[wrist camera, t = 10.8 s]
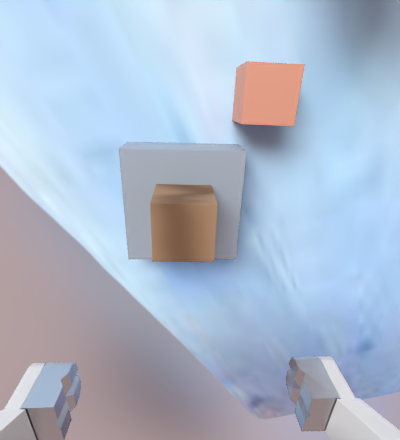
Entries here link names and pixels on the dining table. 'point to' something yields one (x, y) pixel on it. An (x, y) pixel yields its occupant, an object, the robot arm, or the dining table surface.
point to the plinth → (182, 175)
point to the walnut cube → (183, 223)
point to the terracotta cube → (267, 93)
